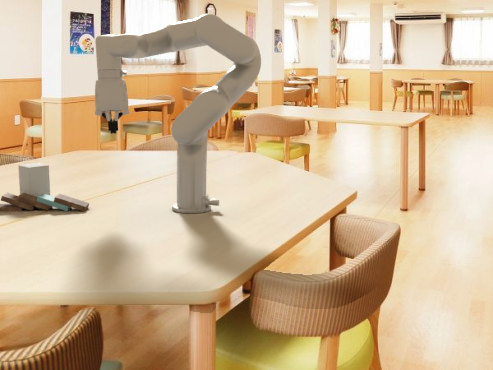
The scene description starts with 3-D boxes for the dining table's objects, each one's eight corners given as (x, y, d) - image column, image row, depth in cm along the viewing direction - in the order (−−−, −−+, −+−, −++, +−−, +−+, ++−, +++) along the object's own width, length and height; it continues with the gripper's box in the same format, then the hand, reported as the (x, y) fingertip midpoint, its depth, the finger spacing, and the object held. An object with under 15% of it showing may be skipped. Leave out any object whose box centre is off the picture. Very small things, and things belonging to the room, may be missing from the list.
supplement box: (51, 202, 201) (49, 165, 199) (30, 205, 196) (28, 167, 193) (40, 198, 206) (38, 162, 204) (19, 201, 201) (17, 164, 198)
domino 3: (53, 202, 194) (23, 192, 194) (49, 205, 190) (18, 195, 189) (52, 207, 195) (22, 197, 194) (47, 210, 190) (17, 200, 189)
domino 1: (24, 203, 193) (-9, 203, 192) (21, 207, 189) (-13, 207, 187) (24, 208, 194) (-8, 208, 192) (21, 212, 189) (-13, 212, 188)
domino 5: (89, 203, 195) (59, 193, 194) (85, 206, 190) (54, 197, 189) (88, 207, 195) (58, 198, 194) (84, 211, 190) (53, 201, 189)
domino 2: (37, 202, 194) (7, 192, 193) (33, 206, 189) (1, 195, 188) (36, 207, 194) (6, 197, 193) (31, 210, 189) (0, 200, 188)
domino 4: (72, 202, 195) (42, 193, 194) (68, 206, 190) (37, 196, 189) (71, 207, 195) (41, 197, 194) (66, 211, 190) (36, 201, 190)
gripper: (134, 74, 195) (137, 131, 199) (87, 75, 193) (91, 132, 197) (133, 74, 188) (136, 133, 191) (84, 76, 186) (88, 135, 189)
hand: (113, 133), depth 194 cm, fingers closed
